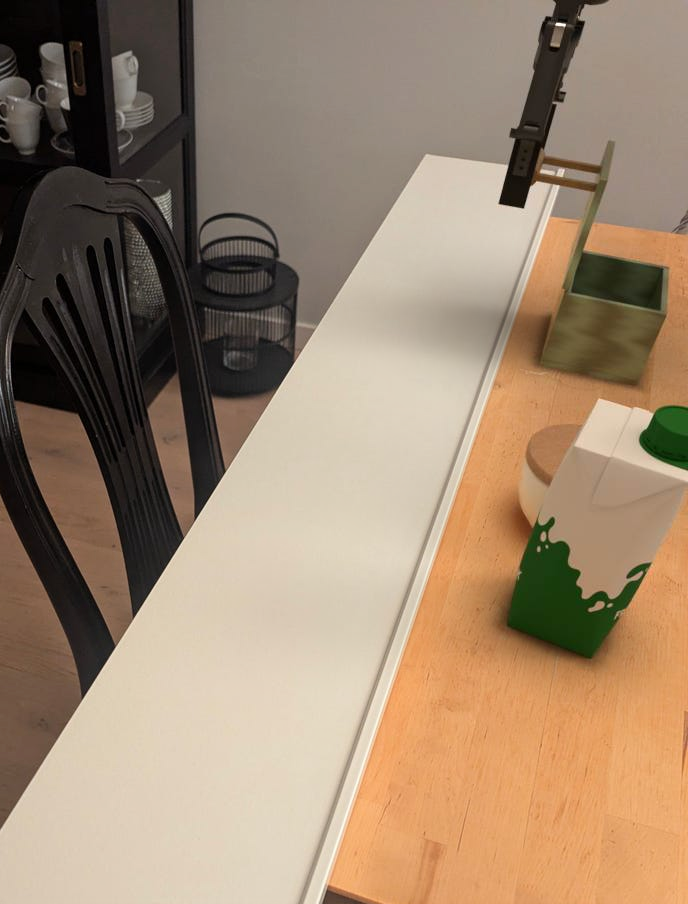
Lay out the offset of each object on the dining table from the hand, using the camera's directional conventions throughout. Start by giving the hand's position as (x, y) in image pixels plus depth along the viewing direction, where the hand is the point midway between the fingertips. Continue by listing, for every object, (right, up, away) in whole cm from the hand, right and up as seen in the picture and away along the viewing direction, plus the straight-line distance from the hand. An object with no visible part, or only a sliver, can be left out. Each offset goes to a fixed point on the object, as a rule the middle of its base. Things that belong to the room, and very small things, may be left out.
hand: (519, 185), depth 101 cm
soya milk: (-5, -49, -24) cm, 55 cm away
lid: (+8, -4, -1) cm, 9 cm away
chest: (+12, -15, +9) cm, 21 cm away
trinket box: (-1, -40, -15) cm, 43 cm away
